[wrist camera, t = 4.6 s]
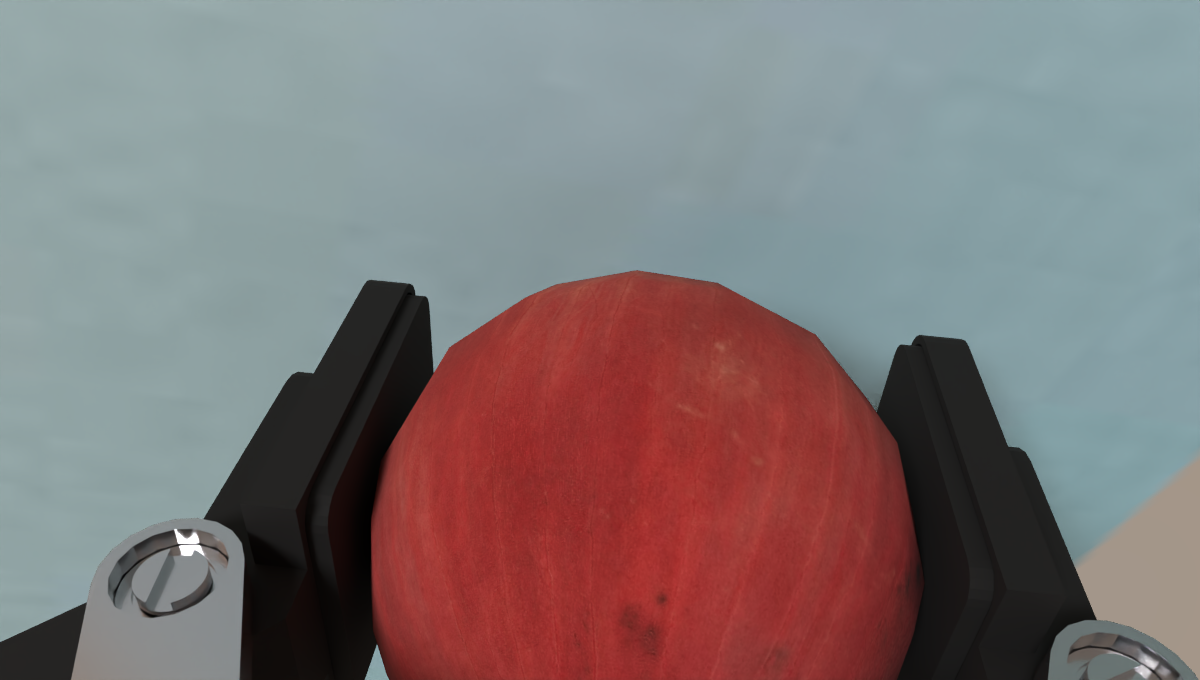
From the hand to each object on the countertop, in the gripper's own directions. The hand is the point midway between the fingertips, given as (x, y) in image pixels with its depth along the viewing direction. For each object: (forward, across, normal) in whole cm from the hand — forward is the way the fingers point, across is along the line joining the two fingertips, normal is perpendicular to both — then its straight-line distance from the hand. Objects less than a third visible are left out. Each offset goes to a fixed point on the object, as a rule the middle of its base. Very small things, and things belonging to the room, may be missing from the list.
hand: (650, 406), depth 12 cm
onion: (+2, 0, 0) cm, 2 cm away
